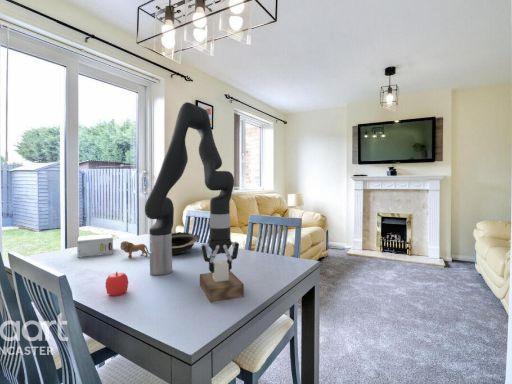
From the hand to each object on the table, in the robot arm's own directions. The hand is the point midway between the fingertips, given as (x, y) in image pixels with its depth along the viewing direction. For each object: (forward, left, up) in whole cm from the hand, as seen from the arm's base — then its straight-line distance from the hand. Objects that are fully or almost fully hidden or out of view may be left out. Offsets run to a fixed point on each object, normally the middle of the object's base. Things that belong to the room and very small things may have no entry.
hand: (220, 271), depth 102 cm
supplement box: (-56, +74, -8) cm, 93 cm away
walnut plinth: (0, 0, -8) cm, 8 cm away
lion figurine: (-34, +58, -8) cm, 68 cm away
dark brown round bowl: (-13, +62, -8) cm, 64 cm away
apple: (-36, +10, -8) cm, 38 cm away
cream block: (0, 0, -3) cm, 3 cm away
